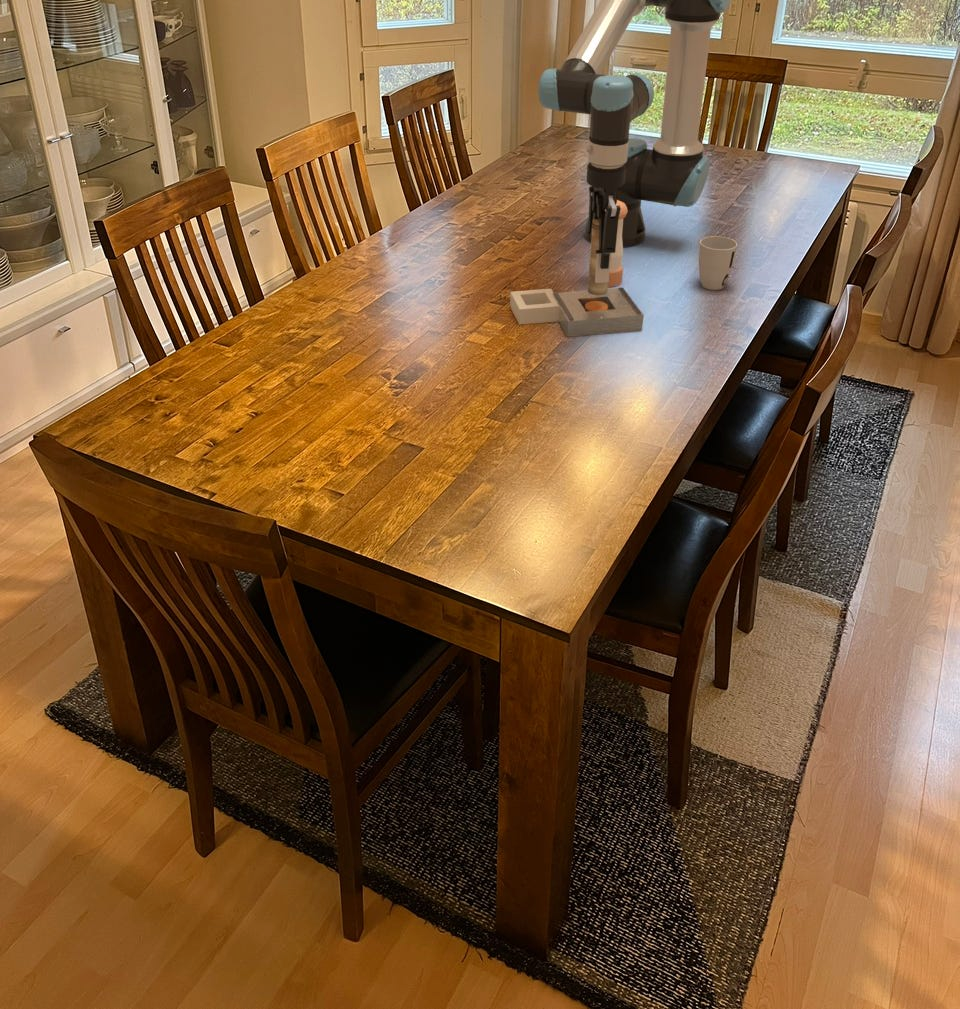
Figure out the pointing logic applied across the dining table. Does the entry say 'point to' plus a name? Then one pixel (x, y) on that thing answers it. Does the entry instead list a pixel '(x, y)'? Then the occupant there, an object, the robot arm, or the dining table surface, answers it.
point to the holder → (534, 306)
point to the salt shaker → (617, 251)
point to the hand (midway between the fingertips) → (598, 277)
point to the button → (595, 306)
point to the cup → (716, 261)
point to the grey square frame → (598, 313)
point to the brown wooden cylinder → (592, 285)
